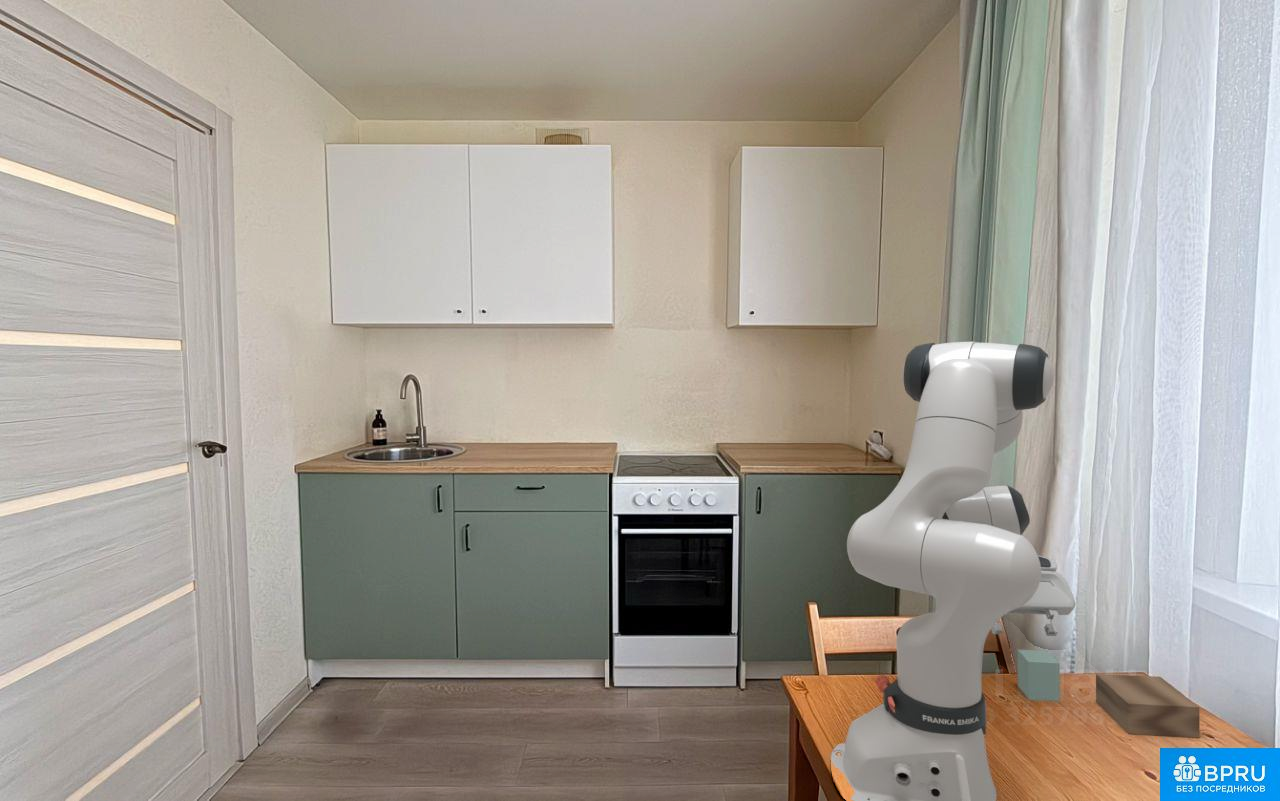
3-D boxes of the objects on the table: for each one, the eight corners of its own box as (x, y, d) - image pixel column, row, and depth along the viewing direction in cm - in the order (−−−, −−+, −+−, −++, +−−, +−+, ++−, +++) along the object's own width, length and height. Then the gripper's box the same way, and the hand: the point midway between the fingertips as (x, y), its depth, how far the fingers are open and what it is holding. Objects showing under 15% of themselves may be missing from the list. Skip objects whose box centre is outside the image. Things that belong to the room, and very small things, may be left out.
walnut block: (1128, 733, 102) (1128, 703, 102) (1096, 701, 112) (1095, 673, 112) (1199, 737, 101) (1199, 707, 100) (1160, 704, 110) (1160, 676, 110)
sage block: (1029, 700, 114) (1028, 661, 114) (1017, 686, 119) (1017, 649, 118) (1059, 701, 113) (1059, 663, 113) (1047, 687, 118) (1046, 650, 117)
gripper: (953, 558, 129) (969, 625, 120) (1064, 560, 126) (1090, 629, 116) (947, 573, 134) (962, 638, 125) (1054, 575, 130) (1078, 642, 121)
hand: (1025, 634), depth 121 cm, fingers open, 8 cm apart
